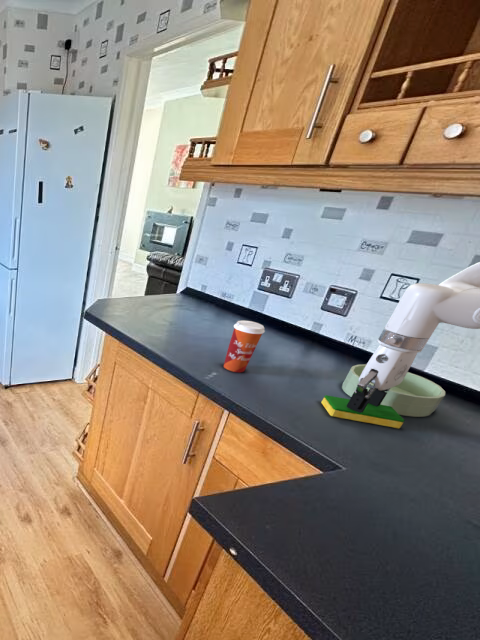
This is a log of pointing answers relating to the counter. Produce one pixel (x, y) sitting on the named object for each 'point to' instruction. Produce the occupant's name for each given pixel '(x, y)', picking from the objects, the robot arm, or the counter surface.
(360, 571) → the counter surface
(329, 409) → the dish sponge
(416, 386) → the bowl
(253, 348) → the paper cup
